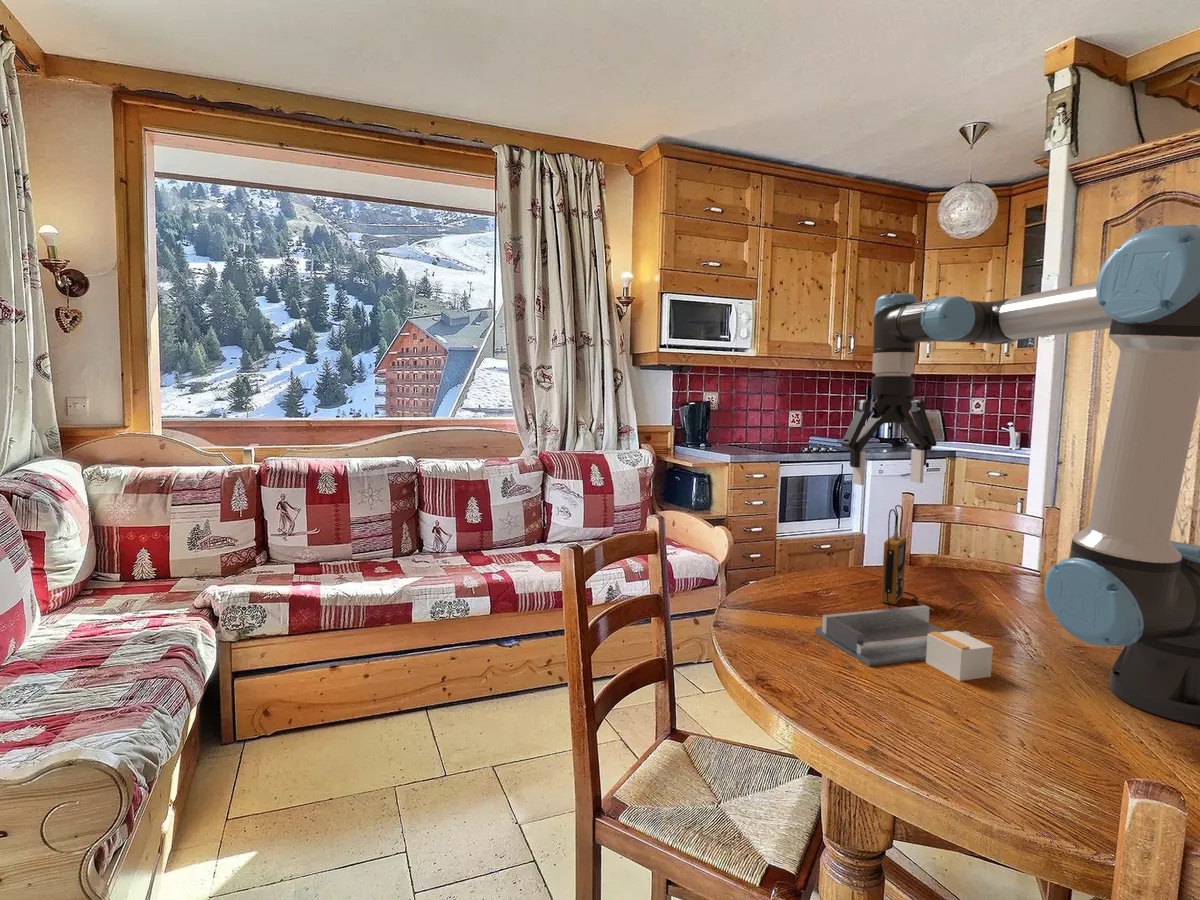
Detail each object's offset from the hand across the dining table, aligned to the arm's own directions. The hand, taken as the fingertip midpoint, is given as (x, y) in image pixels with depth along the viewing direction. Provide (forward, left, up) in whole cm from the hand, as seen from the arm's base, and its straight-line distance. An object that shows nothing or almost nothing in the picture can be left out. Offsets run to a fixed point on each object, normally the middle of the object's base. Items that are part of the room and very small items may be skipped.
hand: (887, 483), depth 132 cm
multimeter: (+2, -8, -26) cm, 27 cm away
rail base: (-15, +10, -26) cm, 31 cm away
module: (-27, +8, -26) cm, 38 cm away
